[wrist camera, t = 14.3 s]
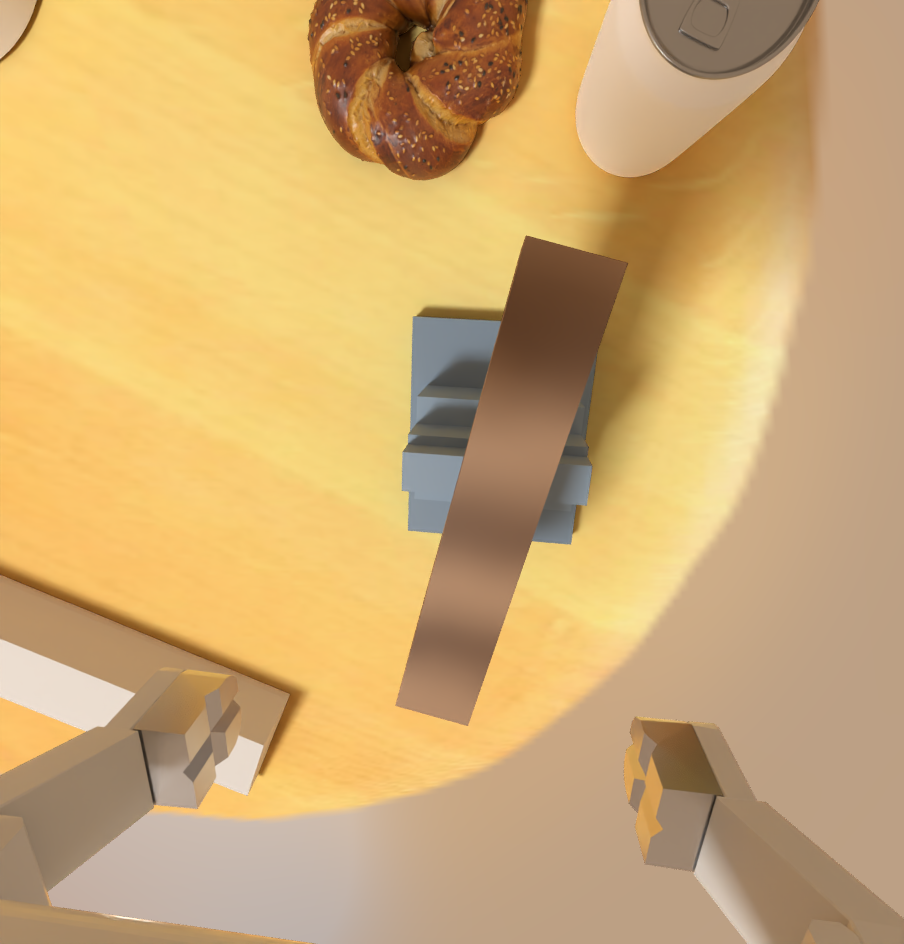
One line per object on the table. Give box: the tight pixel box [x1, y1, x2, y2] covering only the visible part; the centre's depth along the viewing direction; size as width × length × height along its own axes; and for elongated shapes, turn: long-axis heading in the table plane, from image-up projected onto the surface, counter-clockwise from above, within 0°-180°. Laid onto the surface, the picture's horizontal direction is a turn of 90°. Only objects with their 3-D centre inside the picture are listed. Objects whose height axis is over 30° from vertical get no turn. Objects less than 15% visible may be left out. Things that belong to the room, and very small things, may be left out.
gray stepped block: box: [402, 316, 598, 544], centre depth 29 cm, size 14×11×9 cm
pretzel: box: [308, 0, 528, 180], centre depth 25 cm, size 12×11×4 cm
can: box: [576, 0, 819, 177], centre depth 21 cm, size 6×6×12 cm
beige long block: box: [0, 575, 290, 796], centre depth 42 cm, size 34×5×10 cm
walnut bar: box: [396, 236, 628, 726], centre depth 22 cm, size 20×3×5 cm, turn 166°
